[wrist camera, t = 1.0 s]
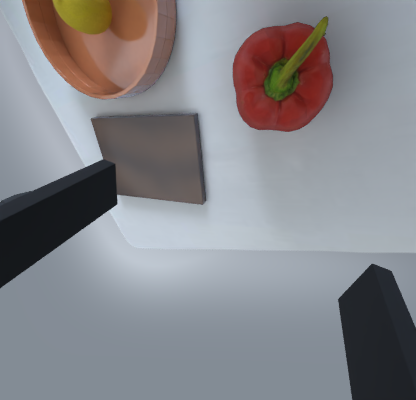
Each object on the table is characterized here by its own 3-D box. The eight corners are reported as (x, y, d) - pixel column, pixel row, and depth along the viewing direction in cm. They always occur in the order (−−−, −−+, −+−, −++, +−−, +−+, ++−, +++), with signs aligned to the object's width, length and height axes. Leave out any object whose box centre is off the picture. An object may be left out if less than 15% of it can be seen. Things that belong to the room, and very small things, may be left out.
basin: (25, -71, 30) (-14, -91, 26) (160, -139, 22) (132, -180, 19) (80, 99, 40) (58, 102, 36) (186, 91, 32) (171, 94, 29)
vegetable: (287, 1, 24) (279, -36, 16) (354, 68, 24) (380, 66, 16) (225, 89, 30) (196, 95, 22) (280, 140, 31) (271, 165, 23)
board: (96, 117, 40) (90, 118, 39) (197, 113, 33) (193, 114, 32) (119, 191, 47) (114, 194, 46) (206, 200, 40) (202, 204, 39)
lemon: (103, 44, 33) (54, 37, 27) (85, -1, 31) (27, -21, 24) (130, 28, 31) (84, 16, 24) (112, -23, 28) (56, -51, 22)
